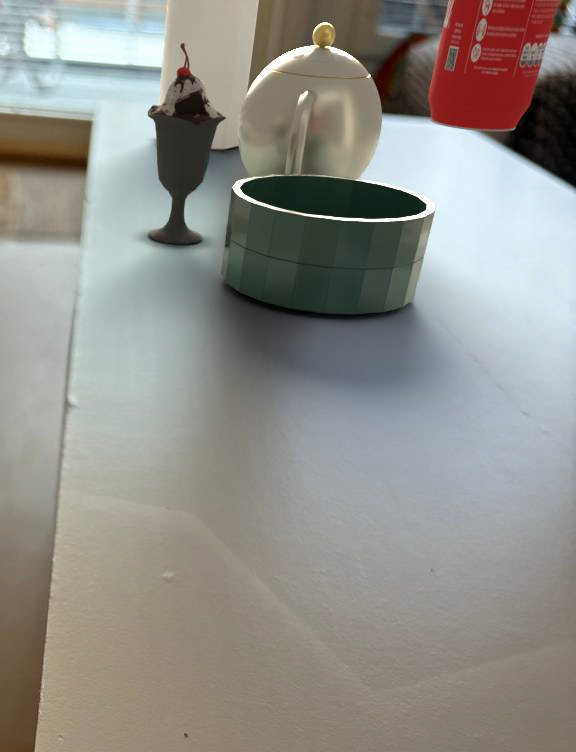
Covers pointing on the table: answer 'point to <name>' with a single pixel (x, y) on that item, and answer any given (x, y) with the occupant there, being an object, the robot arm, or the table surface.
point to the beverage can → (489, 62)
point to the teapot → (311, 114)
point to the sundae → (183, 148)
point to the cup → (212, 55)
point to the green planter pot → (325, 242)
